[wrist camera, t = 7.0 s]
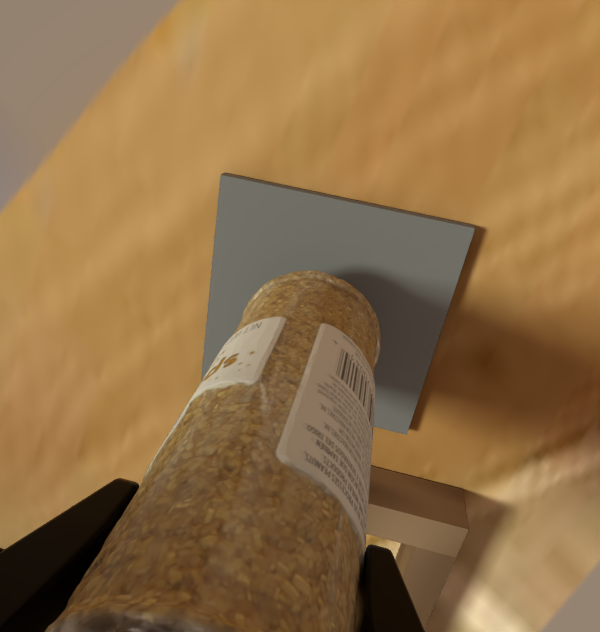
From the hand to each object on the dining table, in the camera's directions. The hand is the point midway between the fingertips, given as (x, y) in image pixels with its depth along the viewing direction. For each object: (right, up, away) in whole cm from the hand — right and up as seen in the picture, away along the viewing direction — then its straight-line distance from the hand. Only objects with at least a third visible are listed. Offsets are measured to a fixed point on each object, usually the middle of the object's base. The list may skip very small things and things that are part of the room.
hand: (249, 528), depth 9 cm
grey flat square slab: (+2, +4, +9) cm, 10 cm away
